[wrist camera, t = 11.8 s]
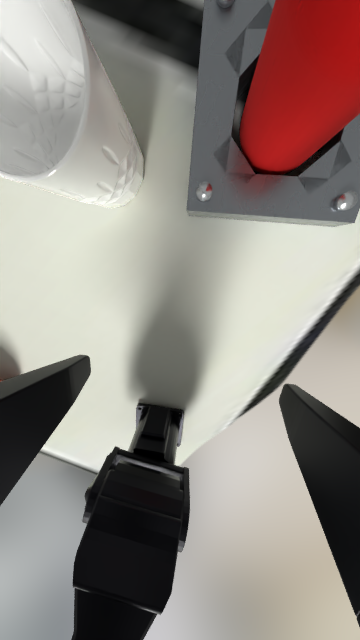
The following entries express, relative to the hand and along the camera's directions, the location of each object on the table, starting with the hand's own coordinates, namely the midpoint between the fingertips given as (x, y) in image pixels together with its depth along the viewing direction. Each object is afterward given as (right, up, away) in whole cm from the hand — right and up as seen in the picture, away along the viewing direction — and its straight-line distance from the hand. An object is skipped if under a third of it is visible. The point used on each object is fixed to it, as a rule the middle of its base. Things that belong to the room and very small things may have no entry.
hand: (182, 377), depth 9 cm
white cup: (-7, +17, +9) cm, 20 cm away
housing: (+8, +18, +7) cm, 20 cm away
